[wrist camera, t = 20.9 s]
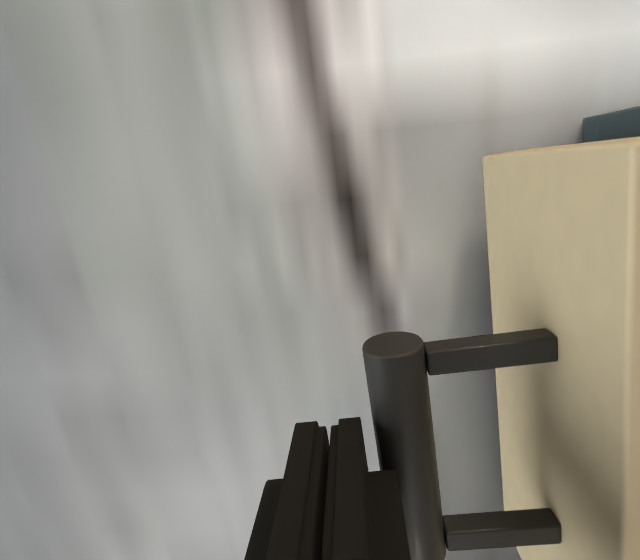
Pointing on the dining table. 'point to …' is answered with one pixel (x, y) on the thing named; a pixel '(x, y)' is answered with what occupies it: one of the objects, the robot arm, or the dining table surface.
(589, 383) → the drawer
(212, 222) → the dining table surface
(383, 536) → the robot arm
